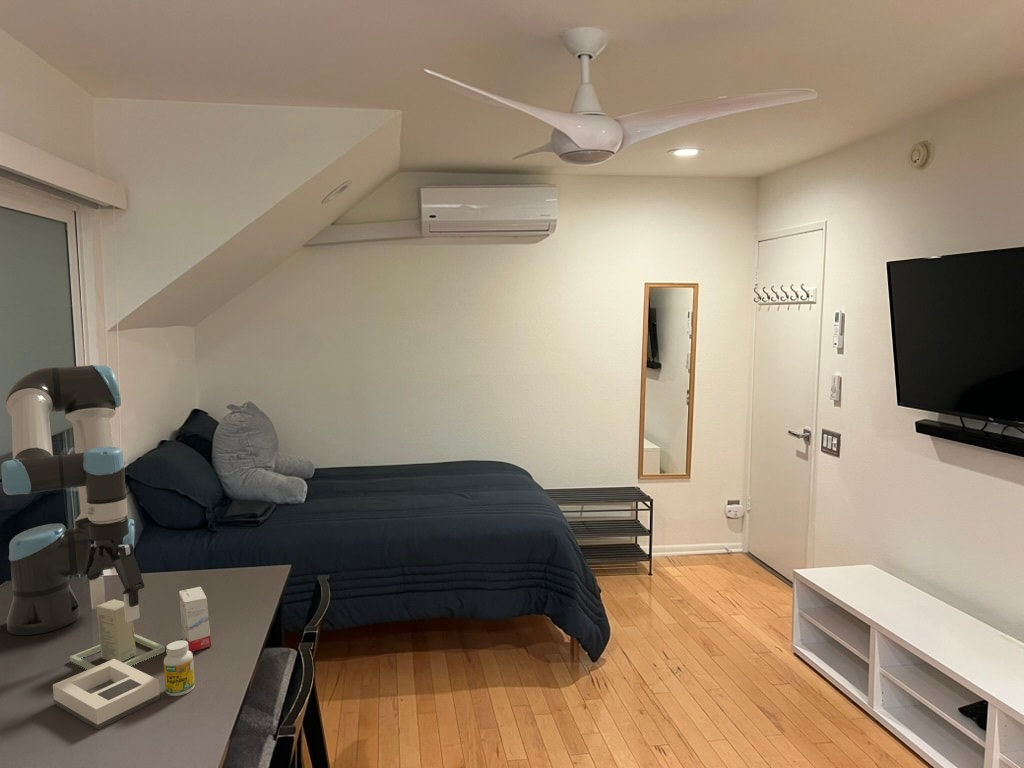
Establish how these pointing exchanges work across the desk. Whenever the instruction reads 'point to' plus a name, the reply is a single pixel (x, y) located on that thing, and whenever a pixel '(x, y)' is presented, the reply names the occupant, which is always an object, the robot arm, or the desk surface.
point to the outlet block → (106, 693)
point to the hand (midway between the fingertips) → (115, 613)
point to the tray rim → (156, 651)
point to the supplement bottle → (178, 669)
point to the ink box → (195, 618)
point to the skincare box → (115, 631)
